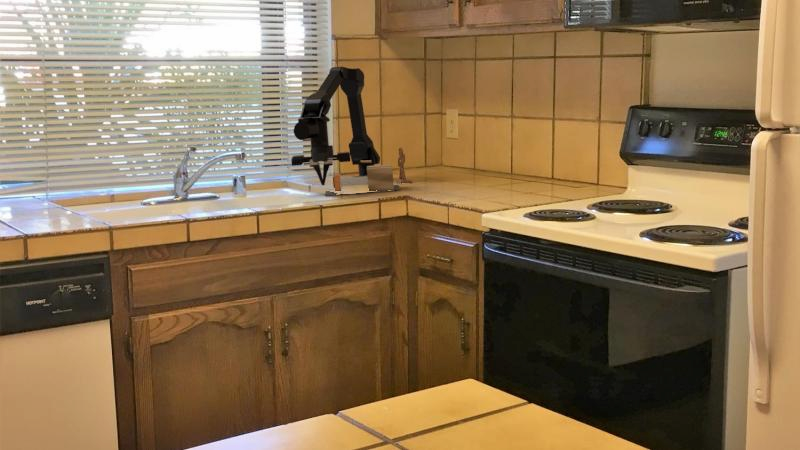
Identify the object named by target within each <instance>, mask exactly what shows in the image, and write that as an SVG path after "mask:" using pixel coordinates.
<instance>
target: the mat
mask: <svg viewBox="0 0 800 450" xmlns="http://www.w3.org/2000/svg"><path fill="white" fill-rule="evenodd" d="M390 190H400V191H401V188H400V184H394V189H390ZM377 191H388V190H377ZM336 194H337V193H334V192H330V191H326V190H325V193H324V196H325V197H335V195H336Z"/></svg>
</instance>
